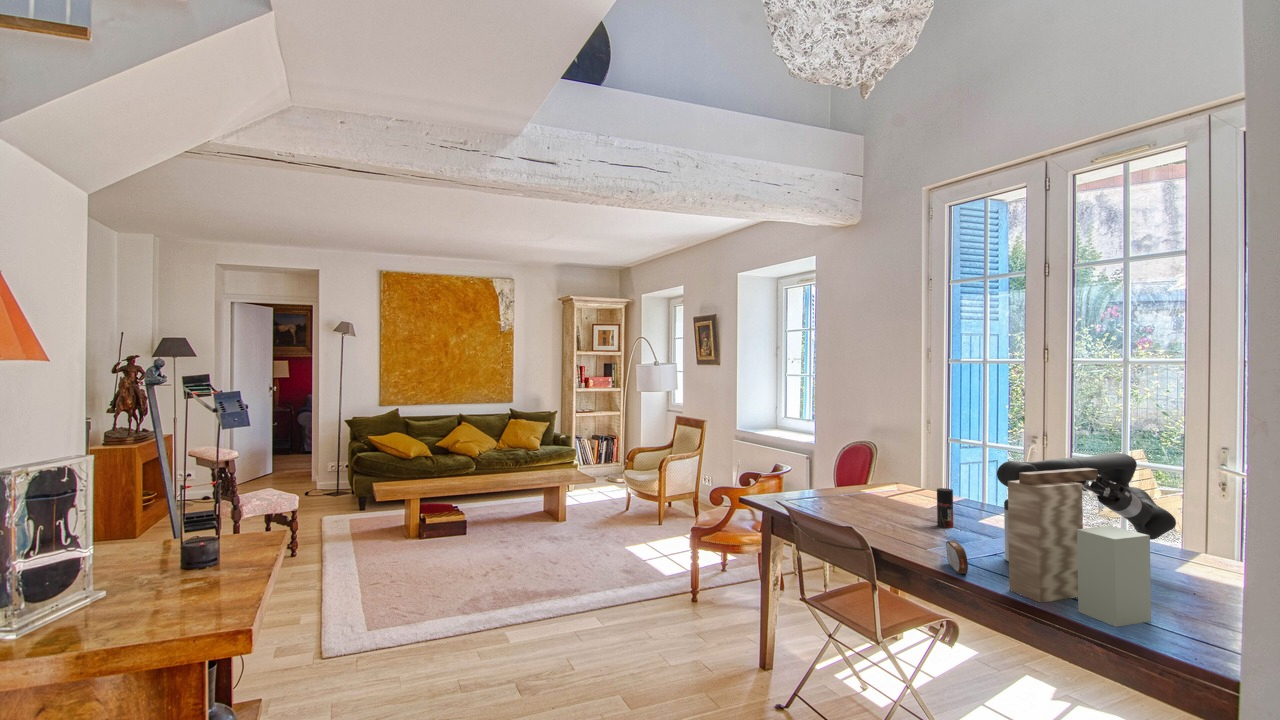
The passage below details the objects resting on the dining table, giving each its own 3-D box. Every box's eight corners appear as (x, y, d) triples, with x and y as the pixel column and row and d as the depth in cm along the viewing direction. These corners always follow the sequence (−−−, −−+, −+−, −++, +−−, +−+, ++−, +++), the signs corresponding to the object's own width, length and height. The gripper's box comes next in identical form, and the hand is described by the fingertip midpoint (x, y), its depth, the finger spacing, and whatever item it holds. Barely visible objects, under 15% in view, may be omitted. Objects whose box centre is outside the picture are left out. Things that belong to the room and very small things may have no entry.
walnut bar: (1088, 477, 186) (1087, 467, 186) (1097, 479, 184) (1097, 469, 184) (1019, 483, 179) (1019, 472, 179) (1028, 485, 176) (1028, 474, 176)
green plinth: (1112, 606, 169) (1110, 525, 169) (1151, 621, 160) (1149, 535, 160) (1078, 611, 166) (1077, 529, 166) (1116, 626, 156) (1114, 539, 157)
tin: (969, 577, 193) (968, 550, 194) (958, 577, 194) (957, 550, 194) (954, 562, 208) (954, 537, 208) (944, 562, 209) (944, 537, 209)
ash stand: (1051, 584, 187) (1050, 477, 187) (1083, 596, 177) (1082, 483, 177) (1009, 590, 182) (1007, 481, 183) (1039, 602, 173) (1038, 487, 173)
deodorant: (947, 528, 251) (946, 491, 251) (934, 525, 256) (933, 489, 256) (956, 527, 253) (956, 490, 253) (943, 523, 259) (943, 487, 259)
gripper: (1100, 484, 195) (1065, 461, 191) (1148, 493, 182) (1112, 468, 178) (1091, 506, 194) (1056, 483, 190) (1139, 516, 180) (1102, 491, 177)
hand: (1083, 475), depth 184 cm, fingers open, 8 cm apart
